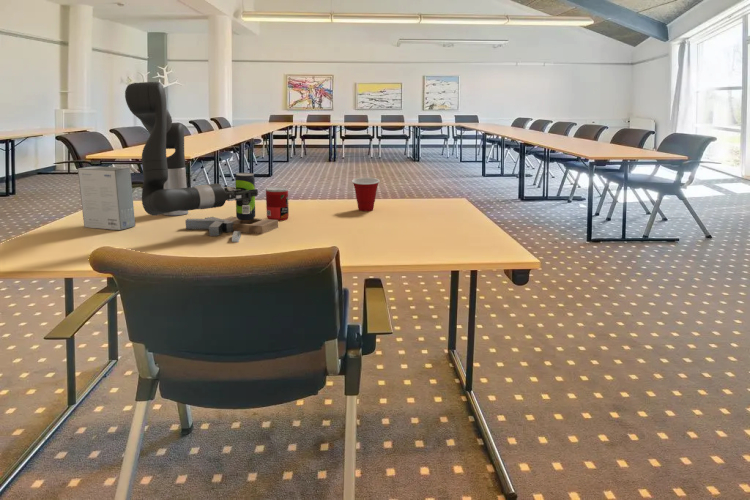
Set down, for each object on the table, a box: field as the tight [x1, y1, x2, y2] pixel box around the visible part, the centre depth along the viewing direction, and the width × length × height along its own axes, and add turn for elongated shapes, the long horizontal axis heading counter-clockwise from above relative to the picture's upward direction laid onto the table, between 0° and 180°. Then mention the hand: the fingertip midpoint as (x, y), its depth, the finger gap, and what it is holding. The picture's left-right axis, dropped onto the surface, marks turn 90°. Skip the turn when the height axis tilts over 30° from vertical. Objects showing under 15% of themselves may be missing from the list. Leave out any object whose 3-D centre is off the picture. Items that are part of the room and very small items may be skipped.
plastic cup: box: [351, 177, 381, 212], centre depth 246 cm, size 11×11×12 cm
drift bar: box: [231, 231, 242, 243], centre depth 196 cm, size 8×2×2 cm, turn 8°
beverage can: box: [234, 172, 256, 220], centre depth 209 cm, size 6×6×15 cm
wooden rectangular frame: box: [223, 215, 279, 235], centre depth 211 cm, size 18×11×2 cm, turn 72°
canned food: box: [265, 186, 290, 222], centre depth 227 cm, size 8×8×11 cm
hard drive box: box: [77, 166, 136, 231], centre depth 210 cm, size 16×8×20 cm, turn 71°
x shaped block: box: [185, 216, 234, 237], centre depth 208 cm, size 10×18×3 cm, turn 46°
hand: (250, 191), depth 211 cm, fingers closed on beverage can, 6 cm apart
